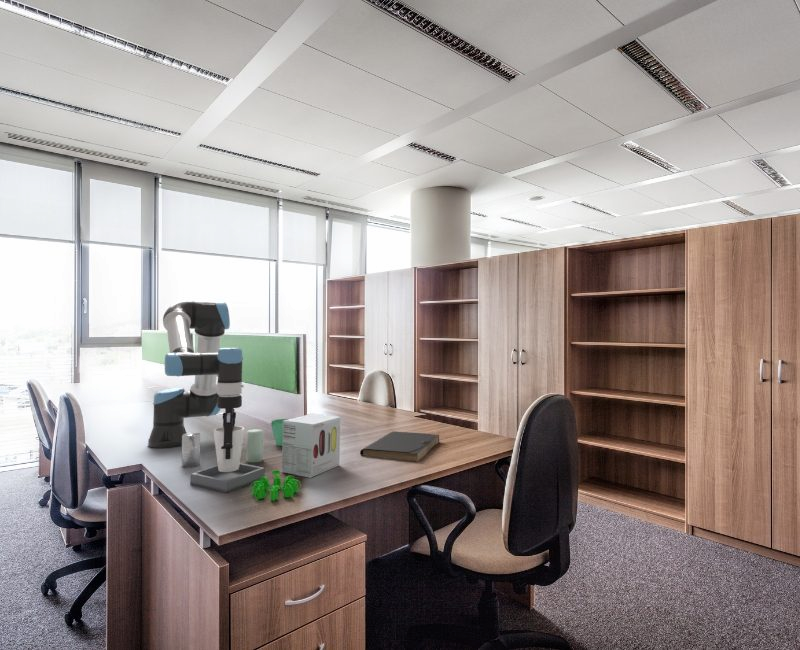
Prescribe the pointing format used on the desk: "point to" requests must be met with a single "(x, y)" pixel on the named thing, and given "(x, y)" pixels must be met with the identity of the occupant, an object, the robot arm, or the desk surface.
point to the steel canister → (190, 450)
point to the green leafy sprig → (275, 487)
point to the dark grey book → (401, 446)
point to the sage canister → (254, 445)
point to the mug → (278, 430)
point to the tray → (227, 478)
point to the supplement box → (310, 444)
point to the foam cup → (236, 442)
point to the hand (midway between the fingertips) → (228, 464)
